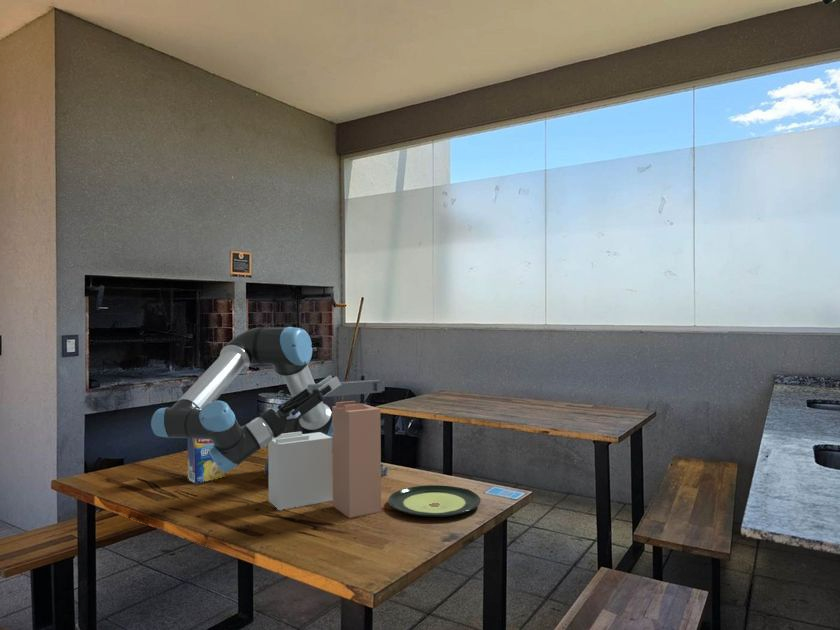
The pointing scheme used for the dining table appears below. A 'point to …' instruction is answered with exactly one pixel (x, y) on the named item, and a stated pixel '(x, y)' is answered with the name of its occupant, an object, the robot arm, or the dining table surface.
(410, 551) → the dining table surface
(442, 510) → the plate
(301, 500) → the rest
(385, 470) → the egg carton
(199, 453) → the beverage box
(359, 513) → the stand
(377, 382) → the t bar
